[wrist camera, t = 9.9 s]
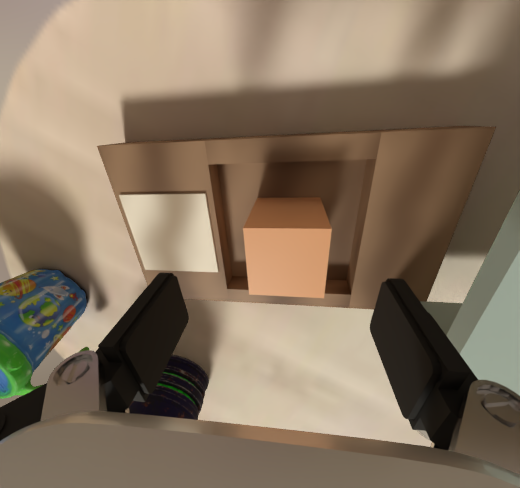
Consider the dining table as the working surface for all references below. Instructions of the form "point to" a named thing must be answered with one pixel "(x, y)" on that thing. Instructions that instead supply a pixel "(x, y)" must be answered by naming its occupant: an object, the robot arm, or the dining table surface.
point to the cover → (490, 311)
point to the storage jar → (176, 391)
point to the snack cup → (34, 324)
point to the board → (293, 186)
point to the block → (287, 247)
